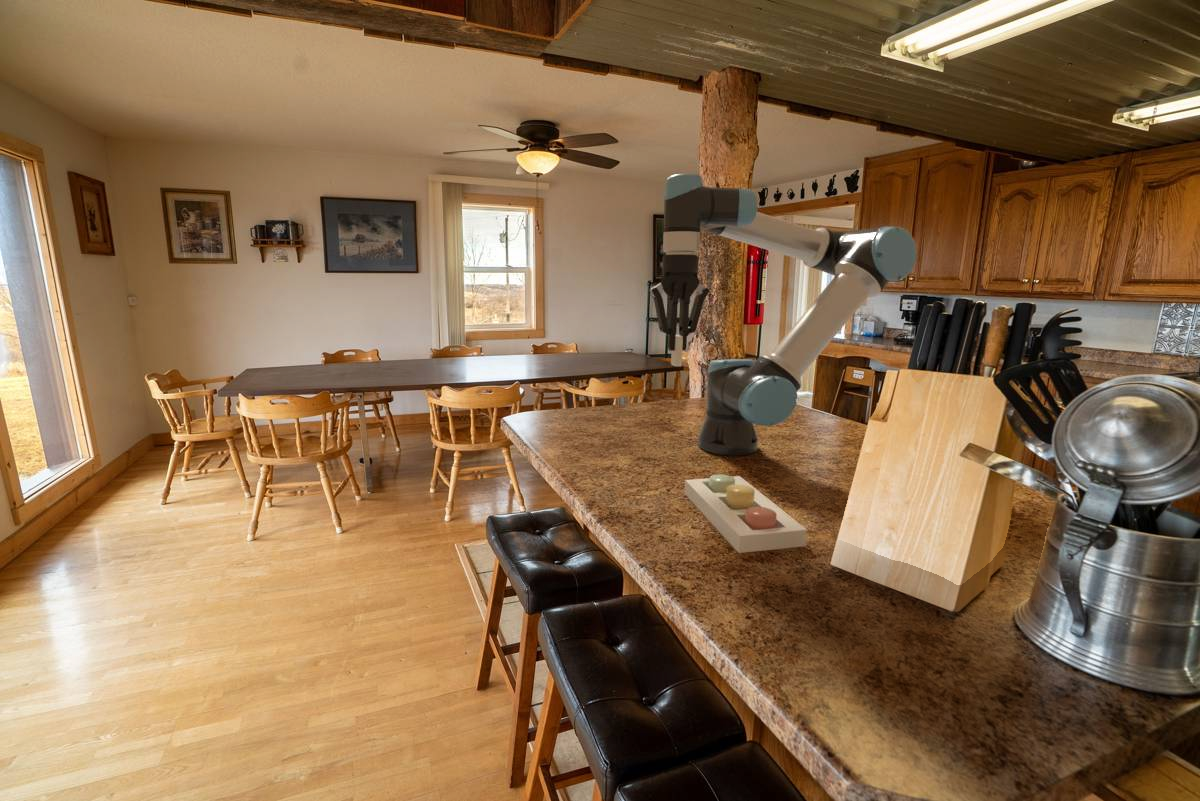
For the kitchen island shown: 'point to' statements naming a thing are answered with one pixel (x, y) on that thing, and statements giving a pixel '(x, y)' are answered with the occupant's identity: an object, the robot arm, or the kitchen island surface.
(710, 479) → the sage button
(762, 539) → the panel
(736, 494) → the ochre button
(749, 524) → the brick button
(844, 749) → the kitchen island surface
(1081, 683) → the kitchen island surface
